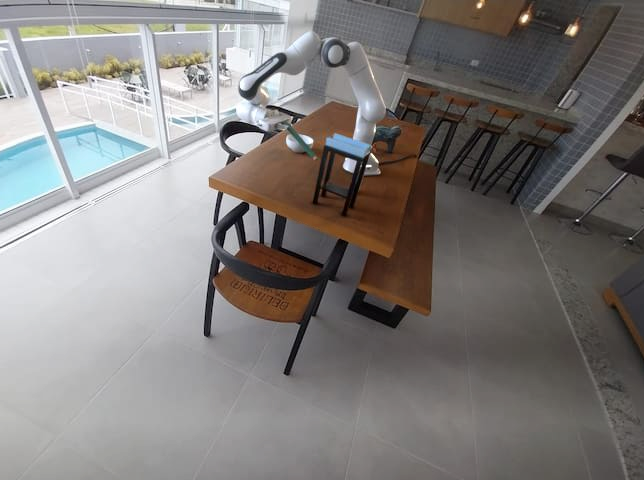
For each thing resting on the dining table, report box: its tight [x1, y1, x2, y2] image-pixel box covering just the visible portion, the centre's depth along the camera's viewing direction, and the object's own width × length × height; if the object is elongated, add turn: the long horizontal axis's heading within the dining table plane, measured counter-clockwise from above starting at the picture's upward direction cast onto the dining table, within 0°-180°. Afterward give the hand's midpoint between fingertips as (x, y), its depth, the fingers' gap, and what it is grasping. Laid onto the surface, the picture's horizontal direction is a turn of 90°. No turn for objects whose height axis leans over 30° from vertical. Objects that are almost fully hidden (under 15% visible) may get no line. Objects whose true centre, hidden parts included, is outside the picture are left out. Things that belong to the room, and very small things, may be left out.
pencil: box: [282, 120, 318, 161], centre depth 146 cm, size 24×2×1 cm, turn 60°
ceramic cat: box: [372, 119, 402, 154], centre depth 201 cm, size 20×6×20 cm, turn 84°
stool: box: [312, 144, 371, 217], centre depth 135 cm, size 17×11×27 cm, turn 60°
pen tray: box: [325, 132, 373, 158], centre depth 125 cm, size 17×8×3 cm, turn 60°
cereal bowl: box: [285, 133, 314, 154], centre depth 186 cm, size 17×17×7 cm
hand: (289, 127), depth 145 cm, fingers closed on pencil, 2 cm apart
